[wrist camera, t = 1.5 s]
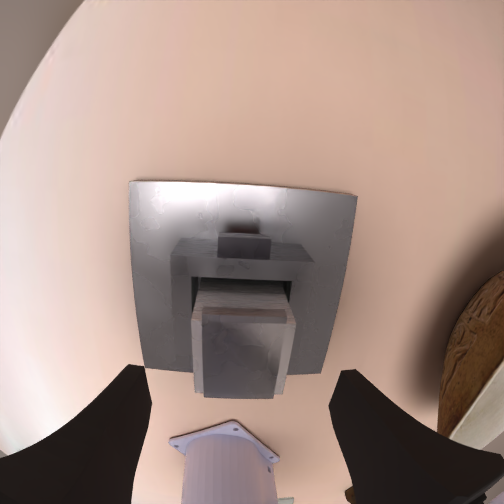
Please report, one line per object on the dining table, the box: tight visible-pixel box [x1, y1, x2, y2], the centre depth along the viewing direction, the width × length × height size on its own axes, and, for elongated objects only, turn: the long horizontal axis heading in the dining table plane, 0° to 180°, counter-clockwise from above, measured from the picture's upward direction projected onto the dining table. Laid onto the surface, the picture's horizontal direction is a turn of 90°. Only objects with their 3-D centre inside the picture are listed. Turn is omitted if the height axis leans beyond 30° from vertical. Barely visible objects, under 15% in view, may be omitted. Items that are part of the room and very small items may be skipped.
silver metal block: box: [191, 277, 296, 399], centre depth 14 cm, size 5×4×6 cm
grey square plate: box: [129, 180, 358, 375], centre depth 16 cm, size 13×13×4 cm
